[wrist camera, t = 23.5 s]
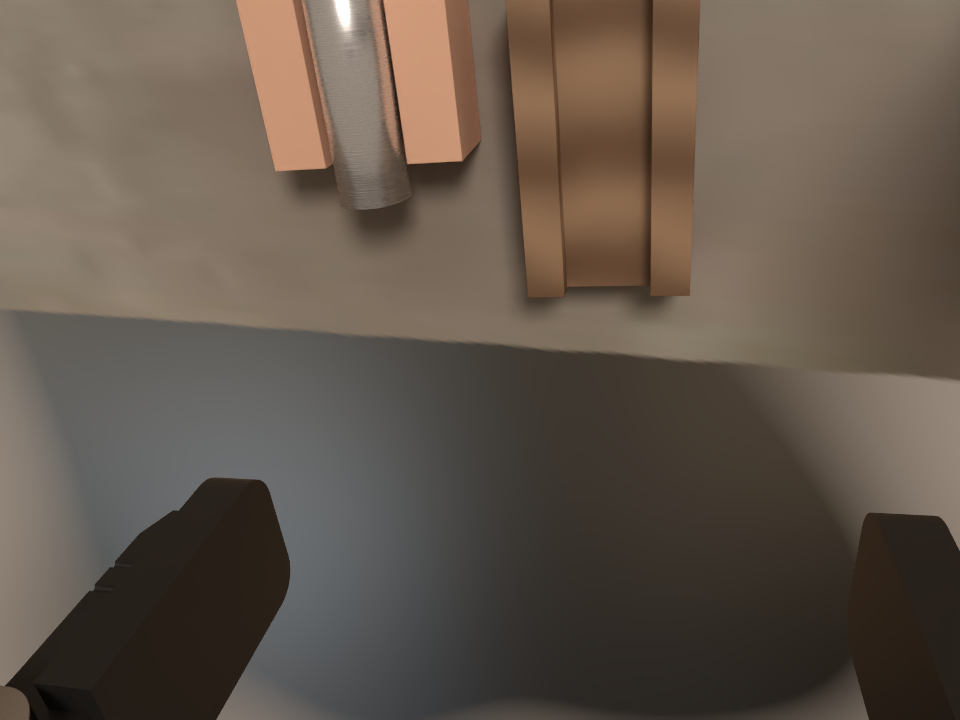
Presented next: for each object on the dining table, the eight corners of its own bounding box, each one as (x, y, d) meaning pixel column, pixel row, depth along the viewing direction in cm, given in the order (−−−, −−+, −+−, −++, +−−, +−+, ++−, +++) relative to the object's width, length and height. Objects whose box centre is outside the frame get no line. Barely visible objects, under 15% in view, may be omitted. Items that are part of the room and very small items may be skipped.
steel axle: (291, -130, 36) (261, -140, 33) (370, -141, 36) (348, -152, 32) (351, 191, 44) (332, 211, 40) (417, 186, 43) (403, 206, 40)
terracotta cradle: (277, -9, 42) (235, -4, 38) (464, -31, 40) (441, -28, 35) (310, 150, 46) (275, 171, 42) (481, 140, 44) (462, 161, 39)
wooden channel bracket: (520, -16, 39) (504, -11, 35) (695, -35, 37) (701, -33, 33) (539, 265, 47) (528, 297, 43) (686, 262, 45) (689, 295, 40)
